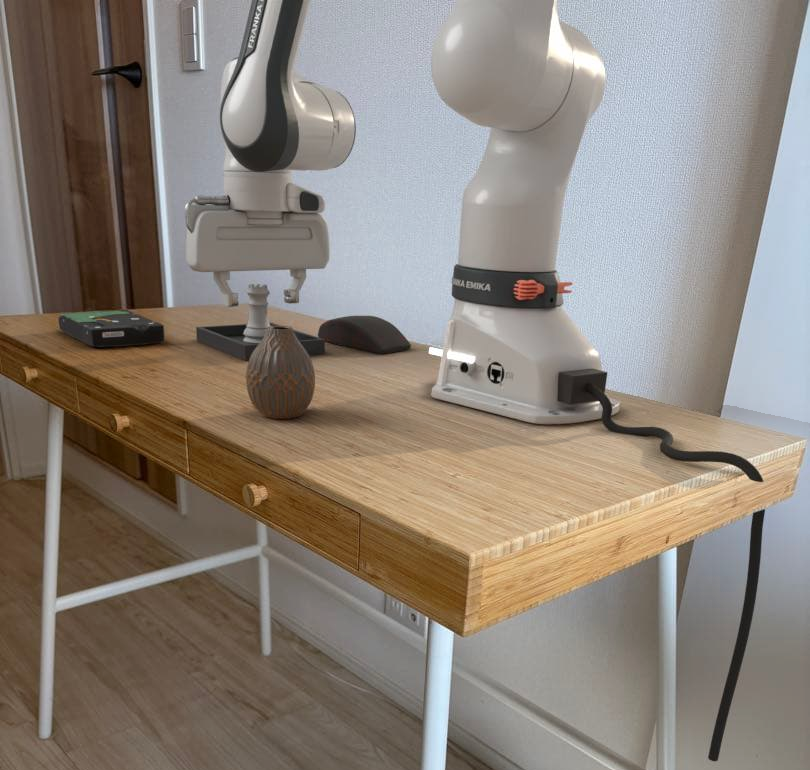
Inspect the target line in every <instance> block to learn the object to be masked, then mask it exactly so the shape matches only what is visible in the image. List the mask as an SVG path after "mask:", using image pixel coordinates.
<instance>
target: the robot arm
mask: <svg viewBox="0 0 810 770" xmlns="http://www.w3.org/2000/svg"><path fill="white" fill-rule="evenodd" d="M311 4H312V0H251V3H250V7H249V11H248V16H247V20H246V25H245V28H244V34H243V37H242V42H241V46H240V51H239V53H238V56H237V57H234V58H233V59H231V60H230V61H228V62H227V64H226V65H225V67H224V69H223V73H222V78H221V83H220V97H219V124H220V135H221V138H222V141H223V145H224V161H223V166H222V171H223V173H222V175H223V176H222V177H223V195H204V194H203V195H201V194H200V195H199V194H198V195H195V196H194V198H192V199H189V201H187V203H186V204H185V206H184V222H185V226H186V229H187V231H186V239H185V240H186V241H185V260H186V264H187V266H188V267H189V268H190V269H191V270H192V271H195V272H200V273H212V274H213V275H212V276H213V281H214V282H215V284H216V286H217V287H218V289H219V290H220V292H221V294H222V304H223V306H224V307H226V308H233V307H239V293H238V292H234V291H232V289H231V287H230V286H229V284H228V281H230V280H231V272H256V271H260V272H261V271H289V275H290V277H291V278H292V280H291V282H290V284H289V287H288V289H283V295H284V297H283V301H284V303H286V304H299V303H300V291H301V289H302V287H303V285H304V283H305V281H306V279H307V270H324V269H325V268H326V267H327V265H328V263H330V255H331V254H330V253H331V251H330V234H329V226H328V223H327V220H326V218H325V216H324V215H323V214H321V213H323V212H324V211H325V209H326V200H325V199H326V198H324V197H323V195H320V194H318V193H316V192H314V191H311V190H309V189H306V188H304V187H303V186H300V185H298V184H295V183H293V182H292V171H303V172H304V171H315V172H317V171H318V172H319V171H328V170H331V169H335V168H338V167H340V166H342V164H343V163H345V161H346V160H347V159H348V158H349V156H350V154H351V152H352V151H353V148H354V145H355V141H356V134H357V127H356V117H355V114H354V111H353V108H352V105H351V104H350V102H349V100H348V99H347V98H346V97H345V96H344V95H343V94H342V93H340V92H338V91H336V90H334V89H332V88H330V87H328V86H324V85H322V84H321V83H317V82H315V81H312V80H310V79H307V78H306V77H304V76H302V75H300V74H298V73H297V72H295V71H294V68H295V64H296V60H297V56H298V52H299V48H300V44H301V41H302V37H303V34H304V33H303V32H304V28H305V24H306V20H307V16H308V13H309V9H310V6H311ZM430 57H431V58H430V71H431V77H432V83H433V85H434V88H435V90H436V92H437V95H438V96H439V98H440V99H441V100H442V101H443V102H444V104H445V105H446V106H448V107H449V108H450V109H452V110H453V111H454V112H455V113H457V114H458V115H459V116H461V117H463V118H464V119H466V120H467V121H469V122H470V123H473V124H474V125H477V126H481V127H486V128H490V131H489V134H488V135H489V136H488V139H487V143H486V147H485V150H484V153H483V156H482V159H481V161H480V164H479V166H478V168H477V169H476V172H475V173H474V175H473V177H472V178H470V180H469V181H468V183H467V184H466V186H465V188H464V191H463V195H462V200H461V214H460V225H459V226H460V228H459V241H458V256H457V263H456V264H455V265H454V266H453V273H452V276H451V296H452V298H454V301H453V307H452V311H451V314H450V317H449V320H448V321H447V323H446V328H445V334H444V339H443V346H442V349H441V348H435V347H429V349H428V354H430V355H435V356H438V357H441V359H440V365H439V371H438V376H437V378H436V381H435V384H434V385H433V386H432V388H431V392H430V397H431V398H433V399H436V400H441V401H445V402H448V403H451V404H456V405H460V406H463V407H467V408H472V409H475V410H479V411H483V412H487V413H491V414H495V415H499V416H503V417H506V418H511V419H515V420H518V421H523V422H527V423H530V424H534V425H535V424H537V425H564V424H565V425H566V424H576V423H583V422H589V421H595V420H601V423H602V424H603V426H604V427H605V429H607V430H608V431H609V432H611V433H615V434H621V435H627V436H637V437H655V438H658V439H661V442H660V444H659V450H660V452H661V453H662V454H663V455H664V456H665V457H667V458H669V459H671V460H674V461H679V462H687V463H688V462H689V463H721V464H728V465H730V466H734V467H736V468H738V469H739V470H740V471H742V472H743V473H744V474H745V476H747V478H748V479H749V480H751V481H753V482H757V483H763V482H764V478H763V477H762V474H761V473H760V471H759V470H758V469H757V468H756V466H755V465H753V463H751V462H750V460H748V459H746V458H744V457H742V456H740V455H738V454H735V453H731V452H727V451H717V450H716V451H714V450H697V451H695V450H694V451H693V450H683V449H677V448H674V447H672V445H673V442H674V436H673V434H672V433H671V432H670V431H669V430H666V429H665V428H662V427H659V426H658V427H657V426H624V425H620V424H619V423H616V422H615V421H614V420H613V419H612V416H614V415H617V413H619V412H620V405H621V403H620V401H619V400H616V399H614V398H611V397H609V396H608V395H607V394H606V393H605V392H606V387H607V381H608V371H604V370H603V368H602V367H603V366H602V360H601V356H600V353H599V352H598V351H597V349H596V348H595V347H594V346H593V344H591V342H590V341H589V339H588V338H587V337H586V336H585V335H584V334H583V332H582V331H581V330H580V329H579V327H578V326H577V325H576V323H575V322H574V321H573V320H572V318H571V317H570V316H569V315H568V314H567V312H566V311H565V310H564V308H563V305H564V304H565V303H564V298H563V294H571V293H572V290H569V289H565V288H566V287H570V286H573V282H572V281H565V282H564V281H563V282H562V281H561V279H560V276H559V272H558V270H556V265H557V257H558V248H559V242H560V241H559V240H560V232H561V224H562V217H563V207H564V204H565V203H564V202H565V197H566V192H567V188H568V185H569V181H570V178H571V174H572V171H573V168H574V164H575V161H576V158H577V155H578V152H579V149H580V145H581V142H582V139H583V136H584V134H585V130H586V127H587V125H588V123H589V122H590V120H591V118H592V117H593V116H594V114H595V113H596V112H597V110H598V109H599V107H600V105H601V103H602V100H603V97H604V94H605V89H606V81H607V76H606V75H607V74H606V68H605V64H604V61H603V58H602V56H601V55H600V53H599V52H598V50H597V48H596V47H595V46H594V44H593V43H592V42H591V41H590V40H589V37H587V36H586V35H585V34H584V33H583V32H582V31H581V30H579V29H578V28H577V27H575V26H573V25H570V24H567V23H565V22H563V21H561V20H560V19H559V16H558V0H456V1H455V4H454V7H453V9H452V11H451V12H450V13H449V14H448V15H447V17H446V18H445V19H444V21H443V22H442V23H441V25H440V27H439V29H438V31H437V33H436V36H435V38H434V42H433V45H432V50H431V56H430ZM193 203H194V204H193ZM765 514H766V508H764V509H760V510H757V511H755V512H752V518H751V525H750V534H749V535H750V537H749V552H748V553H749V554H748V566H747V575H746V576H747V577H746V584H745V585H746V586H745V592H744V599H743V604H742V609H741V617H740V621H739V627H738V632H737V636H736V641H735V644H734V648H733V653H732V656H731V660H730V661H731V662H730V665H729V668H728V673H727V677H726V681H725V684H724V688H723V690H722V691H723V692H722V696H721V698H720V704H719V707H718V712H717V716H716V719H715V724H714V726H713V727H714V728H713V733H712V736H711V742H710V746H709V751H708V756H707V759H708V760H709V761H711V762H718V761H719V758H720V752H721V747H722V744H723V743H722V742H723V739H724V738H723V737H724V734H725V730H726V725H727V721H728V718H729V714H730V711H731V710H730V709H731V705H732V702H733V698H734V695H735V691H736V687H737V683H738V679H739V676H740V673H741V668H742V665H743V661H744V657H745V653H746V648H747V645H748V642H749V641H748V640H749V636H750V631H751V627H752V621H753V617H754V612H755V606H756V599H757V594H758V593H757V592H758V586H759V577H760V569H761V568H760V567H761V559H762V558H761V557H762V545H763V544H762V542H763V528H764V521H765Z"/></svg>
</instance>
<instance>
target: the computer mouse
mask: <svg viewBox="0 0 810 770" xmlns="http://www.w3.org/2000/svg"><path fill="white" fill-rule="evenodd" d="M317 337H318V338H321V339H324V340H325V342H326V343H329V344H333V345H338V346H342V347H347V348H350V349H356V350H359V351H360V350H361V351H365V352H370V353H375V354H380V355H385V354H390V353H396V352H403V351H409V350H411V348H412V347H411V346H412V345H411V343H410V341H409V340H408V339H407V338H406V336H405V335H404V334H403V333H402V332H401V331H400V329H398V328H397V327H396V326H395V325H394V324H393V323H391V322H389V321H388V320H386V319H384V318H381V317H379V316H374V315H348V316H341V317H337V318H332V319H329V320H326V321H325V322H323V323H321V324H320V326H319V327H318V333H317Z"/></svg>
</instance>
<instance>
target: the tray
mask: <svg viewBox="0 0 810 770" xmlns="http://www.w3.org/2000/svg"><path fill="white" fill-rule="evenodd" d="M247 324H248V323H240V324H226V325H225V324H224V325H208V326H196V328H195V330H196V341H197V342H198V343H200V344H203V345H205V346H208V347H211V348H213V349H215V350H217V351H220V352H223V353H226V354H228V355H230V356H232V357H235V358H237V359H240V360H243V361H245V362H247V361H248V362H249V359H250V357H251V355H252V353H253V351H254V350H255V349H256V347H257V346H258V345H259V344H245V342H244V341H243V339H244V338H245V337H246V336H245V335H244V334H243V333H244V330H245V329H246V328H247V326H246V325H247ZM269 324H270V325H271V326H282V325H281V324H277V323H274V322H269ZM293 331H294V333H295V336H296V337H297V339H298V341H299V342H300V343H301V345H302V346H303V347H304V349H305V350H306V351H307V353H308V354H309V356H314V355H315V356H316V355H325V354H326V353H325V352H326V349H325V348H326V347H325V346H326V343H325V342H326V341H325V340H324V339H321V338H319V337H318V336H315V335H312V334H310V333H309V334H308V333H306V332H303V331H299V330H296V329H293Z"/></svg>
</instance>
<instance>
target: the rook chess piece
mask: <svg viewBox="0 0 810 770" xmlns="http://www.w3.org/2000/svg"><path fill="white" fill-rule="evenodd" d="M245 292H246V294H247V296H248V297H249V301H248V303H247V304H248V305H249V313H248V315H249V316H248V321H247V323H246V324H247V325H246V326H247V328H246V329H245V330H244V333H243V334H244V335H245V336H246V337H245V338H244V339H243V341H244V342H245V344H259V343H260V342H261V341H262V339H263V338H264V336H265V334H266V332H267V329H268V327H270V326H271V325H270V324H269V323H270V320H269V315H268V306H269V302H268V297H269V295H270V293H271V292H270V290H269V289H268V284H265V283H264V284H261V283H256V285H255V283H249V284H248V288H247V289H246V291H245Z"/></svg>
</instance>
